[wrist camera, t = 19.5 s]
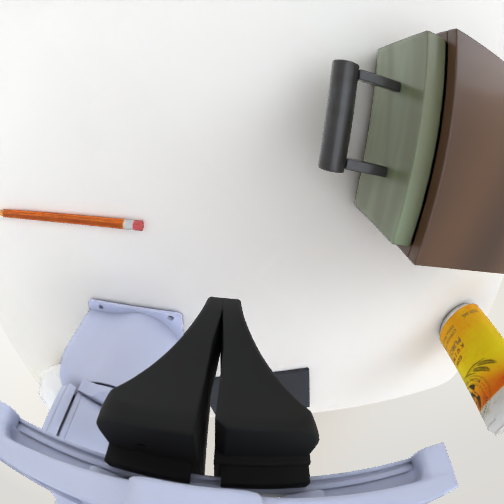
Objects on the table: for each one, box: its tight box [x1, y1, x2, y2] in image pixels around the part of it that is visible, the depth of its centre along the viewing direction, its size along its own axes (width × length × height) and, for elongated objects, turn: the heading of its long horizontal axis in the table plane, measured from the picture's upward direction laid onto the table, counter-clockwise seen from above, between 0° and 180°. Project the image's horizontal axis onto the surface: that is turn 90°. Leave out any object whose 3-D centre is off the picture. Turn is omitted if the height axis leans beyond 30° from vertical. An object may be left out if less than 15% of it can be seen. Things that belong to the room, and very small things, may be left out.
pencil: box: [0, 210, 143, 231], centre depth 20 cm, size 1×18×1 cm, turn 83°
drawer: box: [318, 31, 448, 246], centre depth 13 cm, size 16×11×6 cm
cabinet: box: [396, 29, 504, 274], centre depth 14 cm, size 14×13×8 cm
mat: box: [210, 368, 309, 415], centre depth 30 cm, size 12×8×1 cm, turn 99°
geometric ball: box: [39, 364, 62, 411], centre depth 26 cm, size 8×8×8 cm
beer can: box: [440, 303, 504, 436], centre depth 19 cm, size 6×6×15 cm
